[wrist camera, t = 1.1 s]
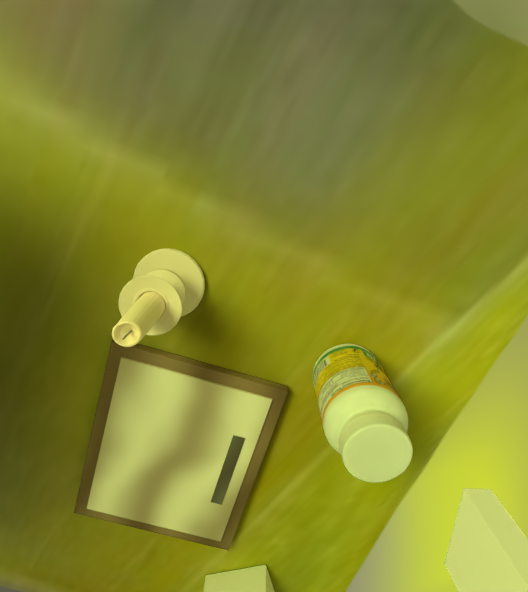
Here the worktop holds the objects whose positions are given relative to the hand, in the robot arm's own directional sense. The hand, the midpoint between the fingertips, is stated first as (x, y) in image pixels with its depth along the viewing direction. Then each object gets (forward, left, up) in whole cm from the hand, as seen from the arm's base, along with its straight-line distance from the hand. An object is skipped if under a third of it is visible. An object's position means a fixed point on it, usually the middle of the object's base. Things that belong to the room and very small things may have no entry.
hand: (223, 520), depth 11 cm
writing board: (-2, -15, -20) cm, 25 cm away
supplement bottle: (+9, -4, -20) cm, 22 cm away
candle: (-6, -1, -20) cm, 21 cm away
